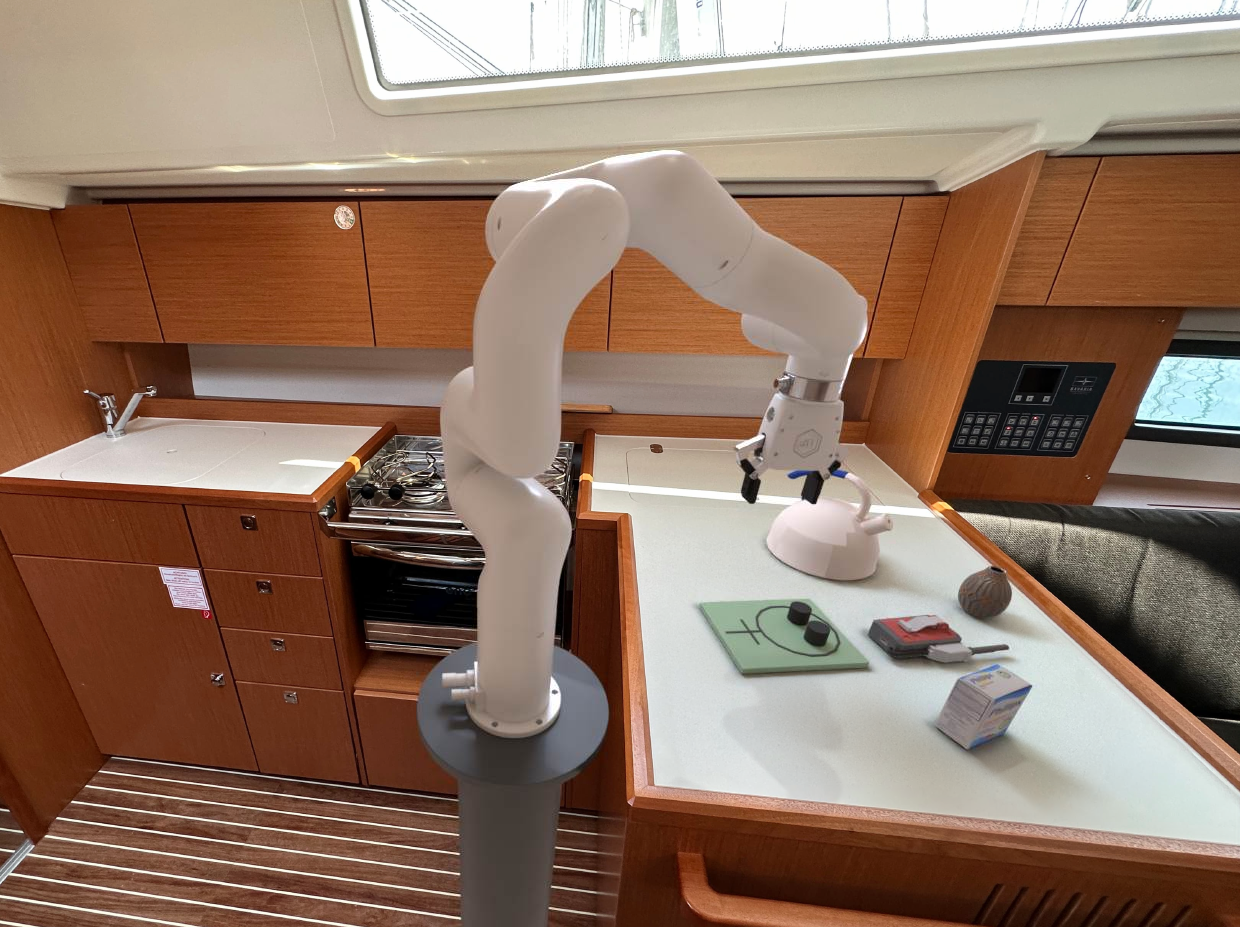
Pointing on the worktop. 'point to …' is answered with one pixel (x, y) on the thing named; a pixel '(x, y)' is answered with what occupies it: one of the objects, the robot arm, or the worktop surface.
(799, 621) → the eye dot
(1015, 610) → the worktop surface
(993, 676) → the medicine box
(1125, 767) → the worktop surface
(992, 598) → the vase
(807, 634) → the eye dot
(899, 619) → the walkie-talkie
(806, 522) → the kettle
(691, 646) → the worktop surface
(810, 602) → the drawing board
